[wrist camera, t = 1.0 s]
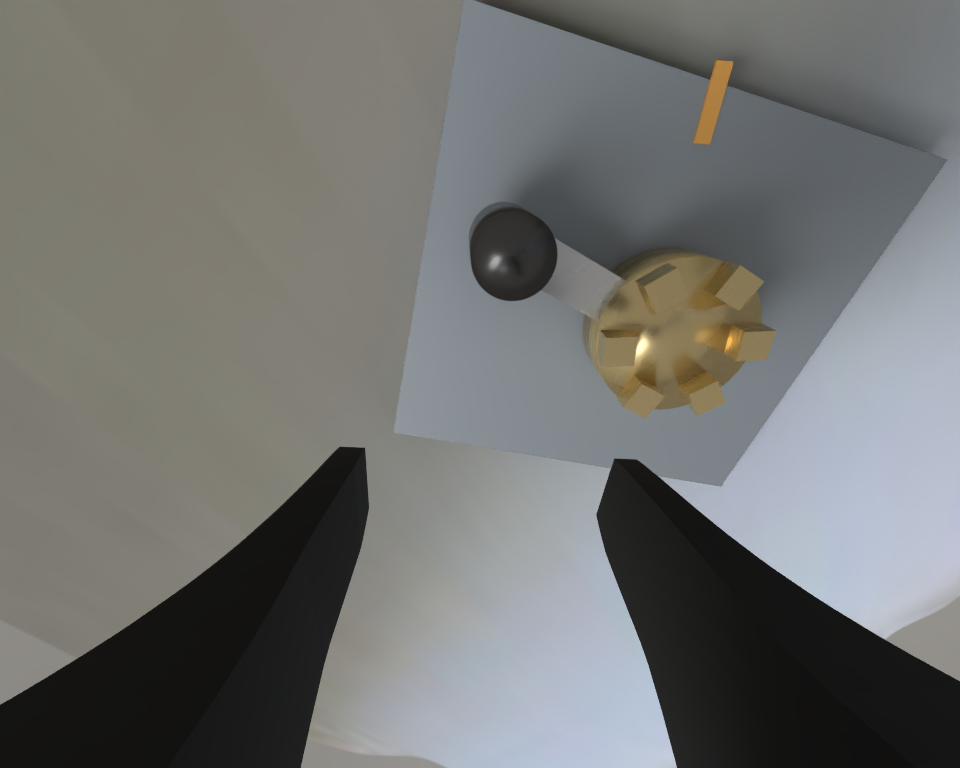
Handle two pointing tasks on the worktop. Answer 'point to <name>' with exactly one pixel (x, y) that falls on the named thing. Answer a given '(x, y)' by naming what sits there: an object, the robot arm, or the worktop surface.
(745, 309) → the spiked mace toy
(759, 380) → the grey board
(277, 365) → the worktop surface
